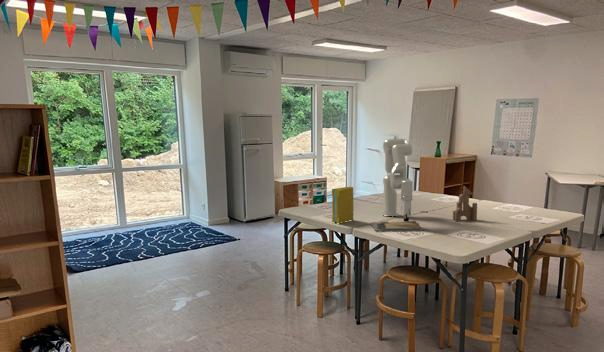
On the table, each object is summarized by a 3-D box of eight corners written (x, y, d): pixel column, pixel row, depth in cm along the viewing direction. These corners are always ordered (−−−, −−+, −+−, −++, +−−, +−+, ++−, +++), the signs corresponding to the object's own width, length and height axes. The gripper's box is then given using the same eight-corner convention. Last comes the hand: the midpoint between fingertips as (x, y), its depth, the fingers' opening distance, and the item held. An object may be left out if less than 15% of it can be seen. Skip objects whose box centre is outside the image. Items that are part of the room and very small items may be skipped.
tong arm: (375, 226, 277) (375, 221, 277) (415, 225, 279) (415, 220, 279) (377, 228, 272) (377, 223, 271) (417, 227, 274) (417, 222, 273)
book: (338, 224, 292) (337, 189, 289) (332, 222, 297) (331, 188, 294) (355, 220, 302) (355, 187, 299) (349, 219, 307) (349, 186, 304)
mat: (370, 223, 291) (370, 222, 291) (414, 223, 291) (414, 221, 291) (375, 231, 269) (375, 230, 269) (423, 230, 269) (423, 229, 269)
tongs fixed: (376, 227, 276) (376, 222, 276) (416, 226, 276) (416, 221, 276) (378, 229, 271) (378, 224, 270) (419, 228, 271) (419, 223, 270)
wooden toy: (456, 221, 293) (456, 187, 290) (452, 219, 300) (453, 185, 297) (477, 221, 293) (478, 186, 290) (473, 219, 300) (474, 185, 297)
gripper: (398, 196, 286) (398, 221, 288) (403, 200, 271) (403, 227, 273) (409, 195, 286) (408, 221, 288) (415, 200, 271) (414, 226, 273)
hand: (406, 224), depth 281 cm, fingers closed
